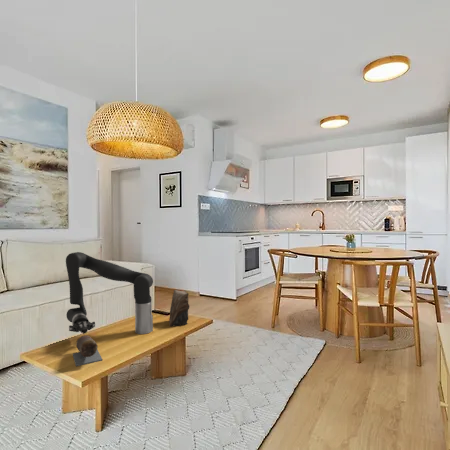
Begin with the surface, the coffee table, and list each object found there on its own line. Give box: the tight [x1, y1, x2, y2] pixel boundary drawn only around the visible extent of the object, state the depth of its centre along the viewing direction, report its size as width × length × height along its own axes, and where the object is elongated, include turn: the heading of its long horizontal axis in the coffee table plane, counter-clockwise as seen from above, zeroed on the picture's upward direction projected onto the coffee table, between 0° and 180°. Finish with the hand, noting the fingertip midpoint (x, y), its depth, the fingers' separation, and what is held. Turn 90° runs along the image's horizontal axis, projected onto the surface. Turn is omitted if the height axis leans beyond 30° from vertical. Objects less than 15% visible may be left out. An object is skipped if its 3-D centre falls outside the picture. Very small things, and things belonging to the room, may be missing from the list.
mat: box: [72, 349, 103, 367], centre depth 145 cm, size 11×14×1 cm
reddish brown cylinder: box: [76, 334, 98, 357], centre depth 144 cm, size 8×7×20 cm
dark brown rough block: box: [168, 289, 190, 327], centre depth 194 cm, size 13×13×20 cm
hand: (84, 331), depth 151 cm, fingers closed
